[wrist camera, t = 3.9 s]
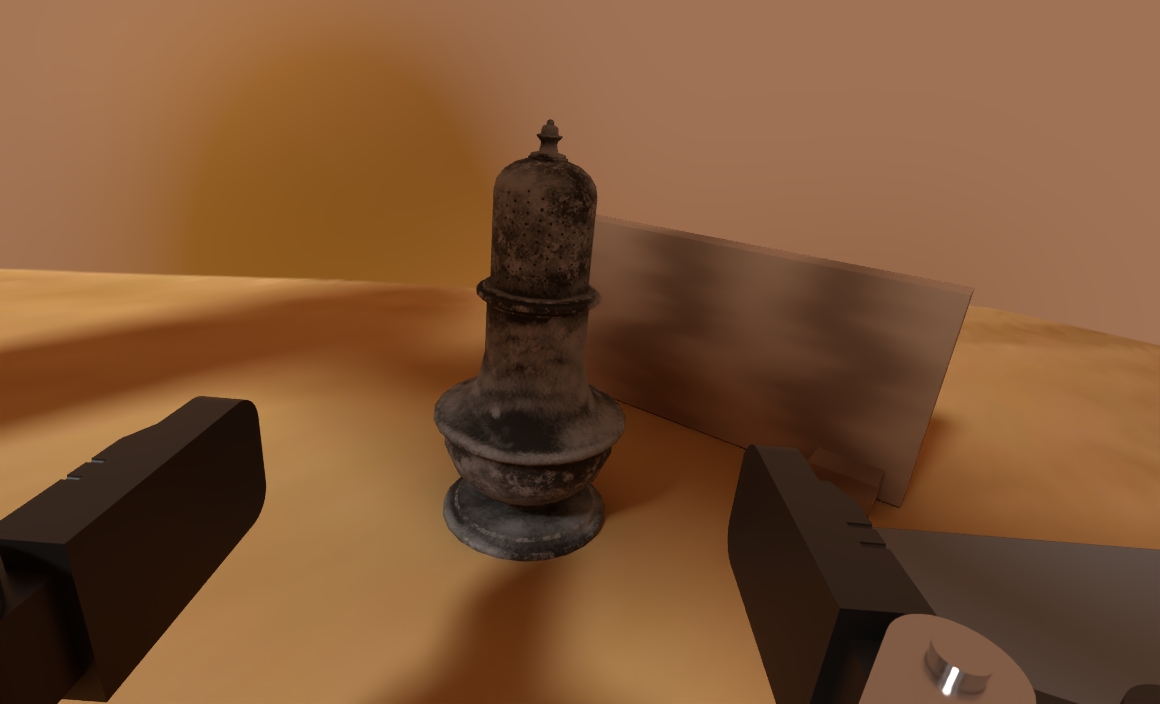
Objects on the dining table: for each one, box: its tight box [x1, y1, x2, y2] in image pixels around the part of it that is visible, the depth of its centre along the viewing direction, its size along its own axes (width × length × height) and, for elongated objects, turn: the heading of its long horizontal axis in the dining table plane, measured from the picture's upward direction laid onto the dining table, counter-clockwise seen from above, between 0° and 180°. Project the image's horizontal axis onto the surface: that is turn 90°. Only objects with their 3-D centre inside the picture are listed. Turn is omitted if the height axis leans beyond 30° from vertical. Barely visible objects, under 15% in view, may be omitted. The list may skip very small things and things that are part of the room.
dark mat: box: [872, 527, 1160, 704], centre depth 15 cm, size 11×11×1 cm
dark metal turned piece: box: [434, 119, 625, 561], centre depth 18 cm, size 6×6×12 cm
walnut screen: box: [584, 215, 974, 516], centre depth 26 cm, size 20×4×8 cm, turn 54°
